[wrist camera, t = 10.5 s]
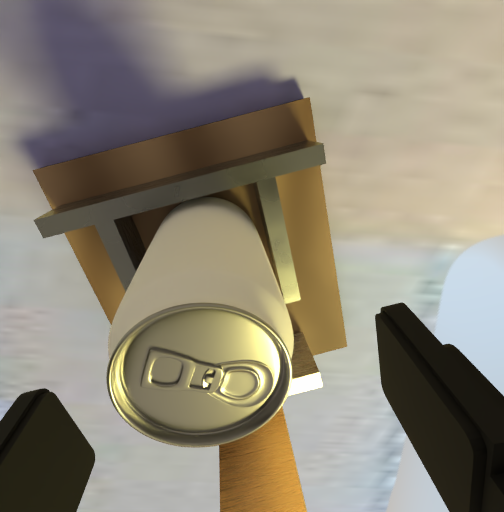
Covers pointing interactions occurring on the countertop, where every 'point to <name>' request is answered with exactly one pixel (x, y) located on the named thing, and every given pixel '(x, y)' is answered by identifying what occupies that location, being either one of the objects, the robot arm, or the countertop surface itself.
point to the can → (201, 332)
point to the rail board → (203, 155)
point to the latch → (268, 454)
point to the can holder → (185, 188)
